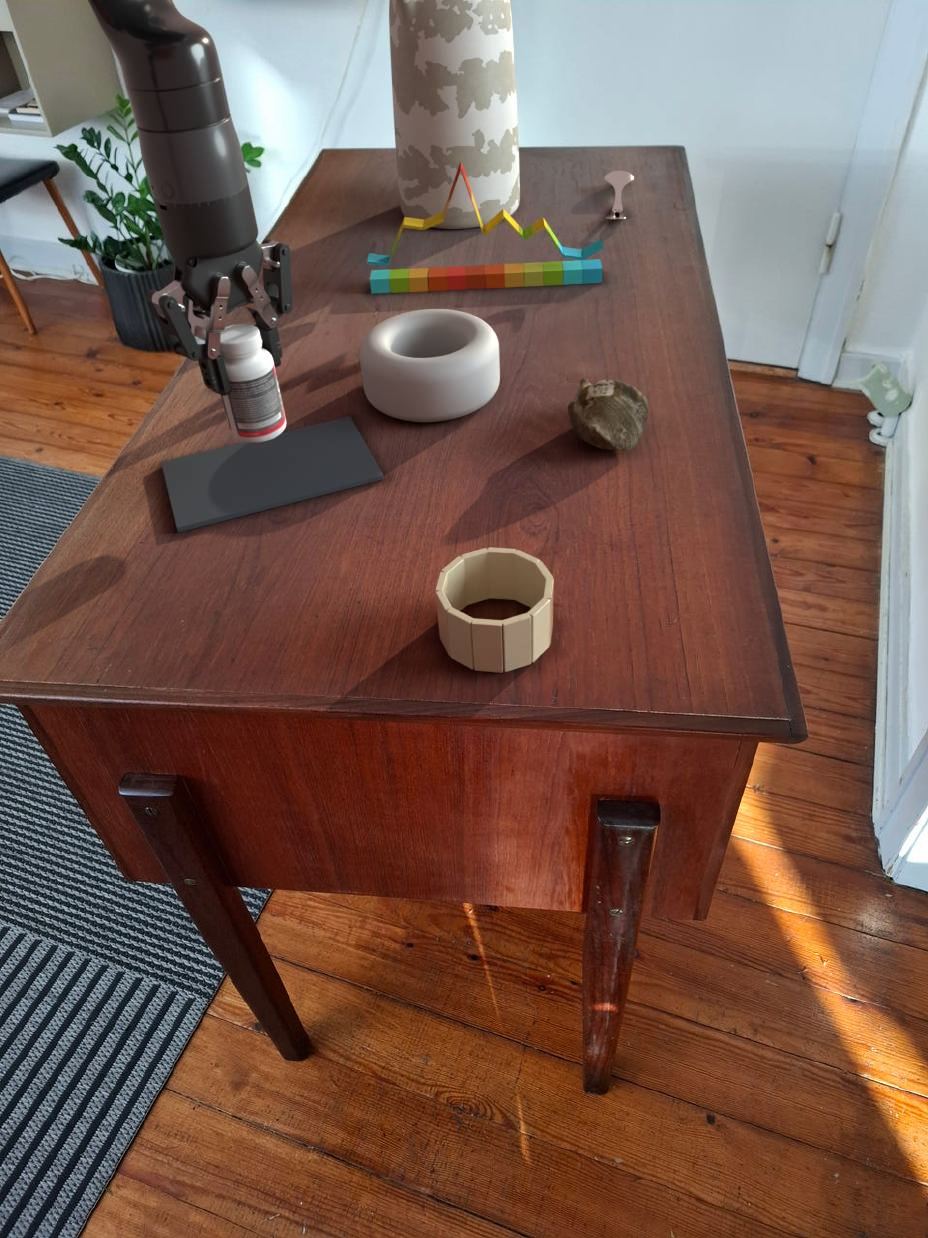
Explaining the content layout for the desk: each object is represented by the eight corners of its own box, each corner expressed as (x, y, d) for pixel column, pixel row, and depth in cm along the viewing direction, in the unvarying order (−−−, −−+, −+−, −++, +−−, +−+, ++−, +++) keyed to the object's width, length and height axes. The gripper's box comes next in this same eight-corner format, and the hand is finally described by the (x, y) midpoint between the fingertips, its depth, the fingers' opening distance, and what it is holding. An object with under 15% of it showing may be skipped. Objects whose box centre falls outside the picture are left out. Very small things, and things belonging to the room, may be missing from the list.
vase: (454, 180, 149) (438, -115, 123) (544, 201, 140) (547, -113, 113) (369, 218, 138) (330, -96, 112) (459, 243, 129) (440, -93, 103)
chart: (599, 272, 119) (605, 151, 109) (601, 282, 117) (608, 159, 107) (373, 283, 121) (358, 164, 110) (371, 293, 118) (356, 173, 108)
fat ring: (438, 345, 107) (434, 291, 102) (528, 388, 98) (528, 331, 94) (338, 393, 100) (328, 337, 95) (425, 443, 91) (419, 384, 87)
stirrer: (635, 202, 126) (601, 202, 127) (633, 228, 128) (600, 228, 129) (634, 165, 141) (604, 165, 142) (633, 189, 143) (603, 189, 144)
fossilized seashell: (571, 381, 94) (547, 446, 88) (604, 339, 88) (582, 404, 83) (630, 418, 95) (611, 483, 90) (667, 378, 90) (648, 445, 84)
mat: (178, 533, 83) (176, 527, 82) (162, 466, 91) (160, 461, 90) (383, 479, 87) (383, 474, 87) (350, 420, 95) (350, 415, 95)
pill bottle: (299, 424, 86) (279, 328, 79) (258, 451, 83) (234, 353, 76) (260, 409, 88) (238, 314, 81) (219, 434, 85) (192, 337, 78)
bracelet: (464, 685, 67) (460, 638, 63) (426, 612, 73) (420, 565, 70) (570, 651, 69) (572, 604, 65) (524, 582, 75) (524, 536, 72)
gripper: (238, 150, 76) (277, 337, 87) (93, 202, 68) (157, 400, 80) (298, 164, 72) (331, 357, 84) (153, 220, 64) (211, 425, 76)
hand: (246, 377), depth 82 cm, fingers closed on pill bottle, 5 cm apart
